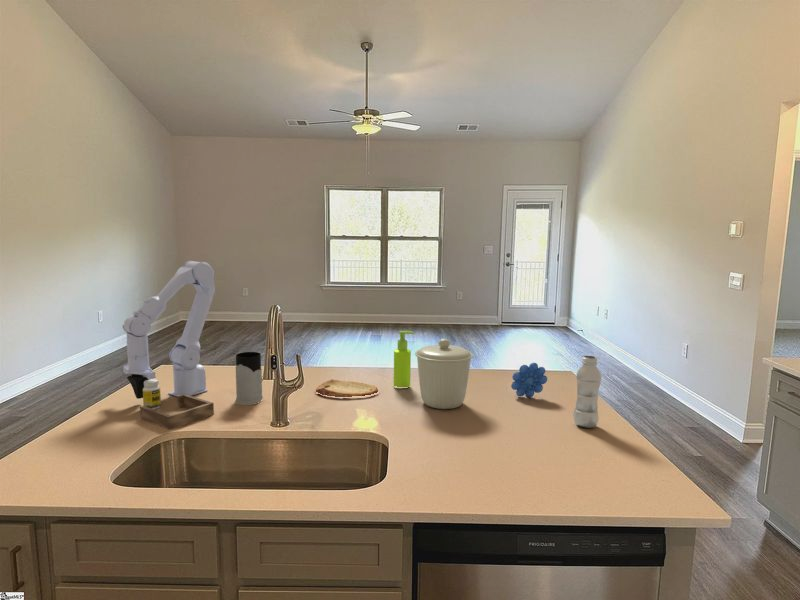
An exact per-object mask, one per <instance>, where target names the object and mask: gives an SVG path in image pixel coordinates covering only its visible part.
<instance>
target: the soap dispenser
mask: <svg viewBox="0 0 800 600" xmlns="http://www.w3.org/2000/svg"><path fill="white" fill-rule="evenodd" d="M398 334H399V339H398V340H397V348H396V349H394V350H393V387H394V386H397V387H409V386H410V387H411V366H412V365H411V362H412V361H411V360H412V359H411V358H412V357H411V356H412V351H411V349H409V348H408V339H406V334H409V335H414V334H415V332H414V331H411V330H398Z"/></svg>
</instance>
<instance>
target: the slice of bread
mask: <svg viewBox="0 0 800 600" xmlns="http://www.w3.org/2000/svg"><path fill="white" fill-rule="evenodd" d="M315 390H316V392H318V393H320V394H322V395H327V396H335V397H352V396H365V395H371V394H374V393H377V392H378V391H379V389H378V387H377V386H376V385H374V384H370V383H364V382H356V381H349V380H338V379H330V380H327V381H325V382H323V383H321V384H320V385H318V386H317V388H316V389H315Z"/></svg>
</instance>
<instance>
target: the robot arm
mask: <svg viewBox="0 0 800 600" xmlns="http://www.w3.org/2000/svg"><path fill="white" fill-rule="evenodd" d="M215 273H216V272H215V270H214V269H213V268H212V266H211V265H210V264H209V263H208V262H206V261H201V262H200V261H194V260H188V261H186V262H185V263H184V264H183V265H182V266H180V267H179V268H178V269H177V271H176V272H175V274H174V275H173V276H172V277H171V278H170V280H169V281H168V282H167V283H166V284H165V285H164V287H163V288H162V289H161V291H159V293H157V295H156V296H150V297H149V298H145V299H144V300H143V302H144V303H142V305H141V306H140V307H139V308H138V309H137V310H134V311H133V312H132V315H131V316H128V317H127V318H126V319H125V320H124V323H123V324H122V329H123V331H124V332H125V333H126V351H127V354H126V355H127V365H126V364H125V365H123V366H122V367H123V372H124V374H126V375H129V376H127V377H126V379H127V380H128V382H129V383H130V385H131V387H132V390H133V392H134V395H135V398H136V399H139V400H140V399H143V388H144V381H146V380H150V379H157V378H156V371H154V370H153V369H152V368H151V367H150V355H149V354H150V353H149V339H148V333H149V332H150V331H151V328H152V327H151V325H152V324H153V323H154V322H155V321H156V320H157V319H158V318H159V316H161V314H163V312H164V311H165V310H166V309H167V302H169V300H171V298H173V296H174V295H175V294H176V293H178V291H180V289H182V288H183V287H184V286H185V285H190V284H191V285H192V286H193V287H194V289H195V290H196V293H195V296H194V300H193V302H192V306H191V308H190V311H189V314H188V317H187V321H186V323H185V326H184V328H183V332H182V334H181V336H180V337H179V338H178V339H177V340H176V342H175V345H174V346H173V347H172V348H171V350H170V351H169V360H170V361H171V362H172V363H173V364H172V365H173V366H172V373H173V374H172V375H173V390H172V391H169V392H168V394H169V395H171V396H174V397H177V396H180V395H183V394H186V395H189V396H195V395H198V394H200V393H201V394H202V393H205V392H208V389H207V382H206V380H207V379H206V378H207V377H206V369H205V367H204V366H203V365H202V364H200V360H201V356H200V355H201V354H200V351H201V343H200V338H201V335H202V332H203V328H204V325H205V323H206V320H207V316H208V313H209V311H210V308H211V305H212V302H213V299H214V295H215V293H216V285H215V278H214V277H215V275H216V274H215ZM130 374H131V375H130Z"/></svg>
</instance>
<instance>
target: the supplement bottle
mask: <svg viewBox="0 0 800 600" xmlns="http://www.w3.org/2000/svg"><path fill="white" fill-rule="evenodd" d="M159 384H160V382H159V379H157V378H153V379H150V380H146V381H144V388H143V398H142V399H143V401H142V404H143V405H142V406H145V405H148V404H149V405H151V409H154V410H158V409H159V408H161V406H162V400H161V398H162V397H161V387H160V386H159Z"/></svg>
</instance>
